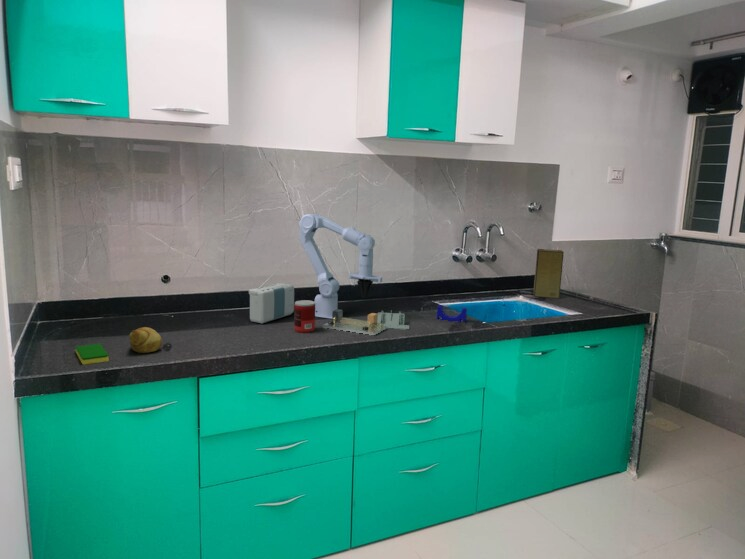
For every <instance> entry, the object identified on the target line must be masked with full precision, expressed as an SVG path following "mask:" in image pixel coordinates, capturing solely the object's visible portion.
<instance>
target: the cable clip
mask: <svg viewBox="0 0 745 559" xmlns="http://www.w3.org/2000/svg"><path fill="white" fill-rule="evenodd" d="M467 310H468V308H467V307H462V309H461V312H460V313H459V314H458V315H452V316H450V315H448V314H447V313H446V312H445V311H444V308H443V304H439V305H437V310H436V311H437V312H436V320H437V319H438V320H437V321H444V320H448V321H447V322H453V321H458V322H457V323H462V322H461V320H463V322H465V321H466V322H467V317H468V316H467V315H468V314H467ZM440 318H442V319H441V320H439V319H440ZM466 322H465V323H466Z"/></svg>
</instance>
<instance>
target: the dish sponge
mask: <svg viewBox="0 0 745 559" xmlns="http://www.w3.org/2000/svg"><path fill="white" fill-rule="evenodd" d="M75 354H76V355H77V357H78V359H79V361H80V363H81V364H82V365H83V366H84V365H91V364H98V363H106V362H109V360H110V359H109V354H108V352H107V351H106V349H105V348H104V347H103V345H102V344H101V343H94V344H93V343H92V344H87V345H76V346H75Z"/></svg>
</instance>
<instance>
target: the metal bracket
mask: <svg viewBox="0 0 745 559" xmlns="http://www.w3.org/2000/svg"><path fill="white" fill-rule="evenodd" d="M392 311H393V310H390V312H382V311H381V312H380V311H379V312H377V314H378V320H377V323H383V325H384V326H387V328H386V329H389V328H394V330H395V329H396V330H406V329H409V330H410V325H409V324H408V325H407V324H405V317H406V316H405V313H402V311H399V312H398V313H393V312H392Z"/></svg>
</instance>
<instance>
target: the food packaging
mask: <svg viewBox="0 0 745 559" xmlns="http://www.w3.org/2000/svg"><path fill="white" fill-rule="evenodd" d="M535 262H536V263H535V269H534V270H535V272H534V281H533V293H532V295H533V297H535V298H536V297H537V298H549V299H557V300H558V299H560V296H561V285H562V284H561V283H562V274H563V264H564V263H563V262H564V251H563V250H562V249H548V248H537V251H536V260H535Z"/></svg>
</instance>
